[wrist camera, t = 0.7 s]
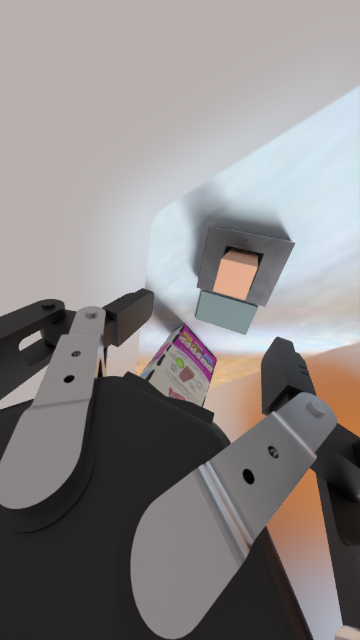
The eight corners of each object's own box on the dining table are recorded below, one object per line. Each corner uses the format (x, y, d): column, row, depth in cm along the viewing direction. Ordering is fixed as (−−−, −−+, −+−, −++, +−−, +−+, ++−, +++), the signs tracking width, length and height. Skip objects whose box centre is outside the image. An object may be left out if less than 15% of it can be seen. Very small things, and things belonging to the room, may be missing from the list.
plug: (258, 253, 26) (257, 267, 18) (248, 279, 28) (244, 300, 21) (231, 248, 27) (221, 258, 19) (224, 273, 29) (212, 291, 22)
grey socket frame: (291, 240, 23) (295, 243, 21) (264, 299, 28) (265, 306, 26) (213, 225, 26) (209, 226, 24) (201, 282, 31) (196, 287, 29)
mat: (257, 306, 29) (257, 307, 29) (245, 333, 33) (245, 335, 32) (202, 290, 32) (201, 291, 31) (196, 317, 35) (195, 318, 35)
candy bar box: (170, 333, 40) (126, 389, 26) (185, 323, 37) (143, 380, 24) (202, 367, 41) (175, 437, 28) (218, 360, 38) (196, 434, 25)
